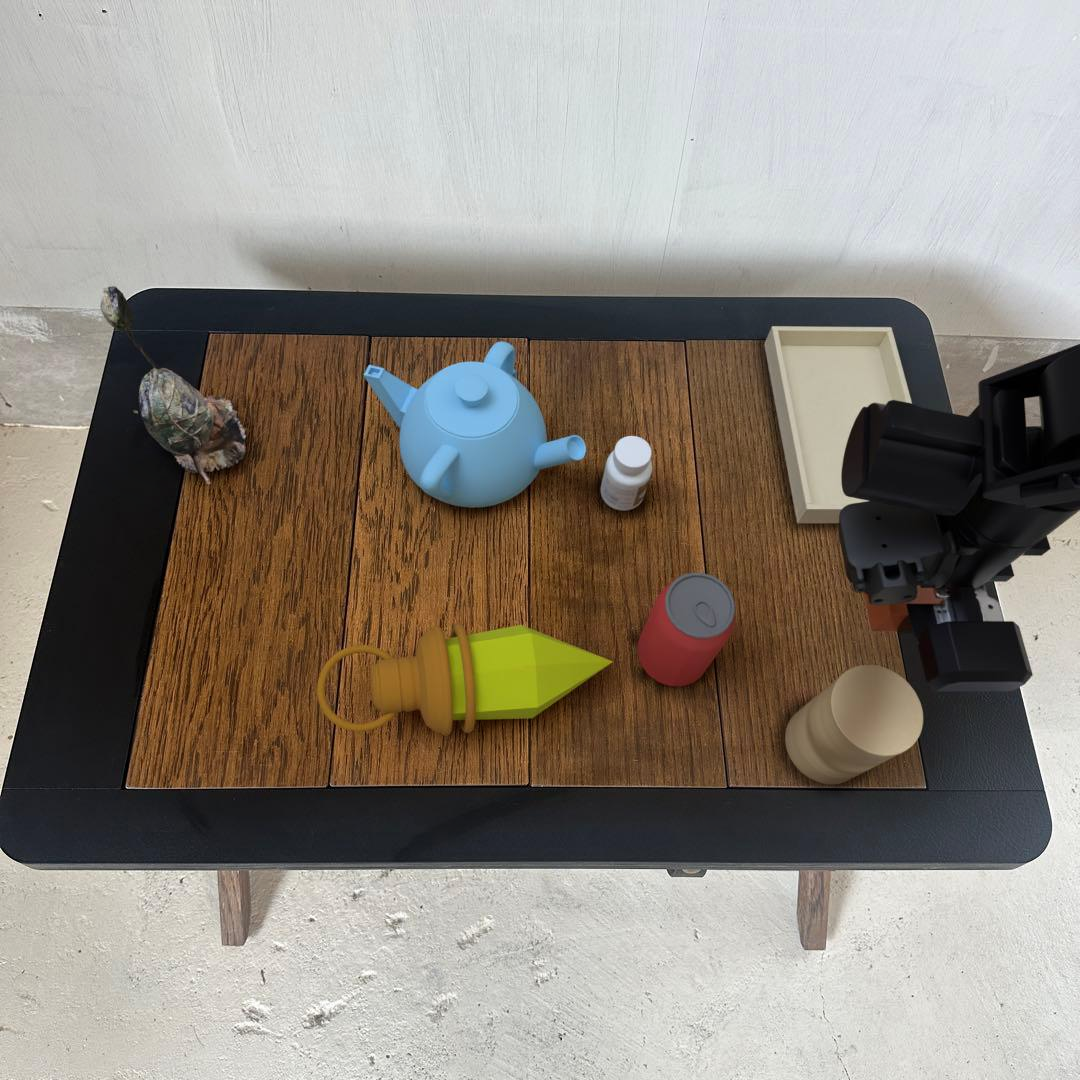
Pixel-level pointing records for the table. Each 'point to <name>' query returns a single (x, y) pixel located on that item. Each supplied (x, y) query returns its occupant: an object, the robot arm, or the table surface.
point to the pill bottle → (627, 473)
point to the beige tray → (827, 404)
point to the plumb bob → (470, 677)
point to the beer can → (686, 629)
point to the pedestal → (854, 725)
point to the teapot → (472, 430)
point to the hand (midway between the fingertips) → (897, 601)
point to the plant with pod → (181, 408)
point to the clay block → (896, 610)
